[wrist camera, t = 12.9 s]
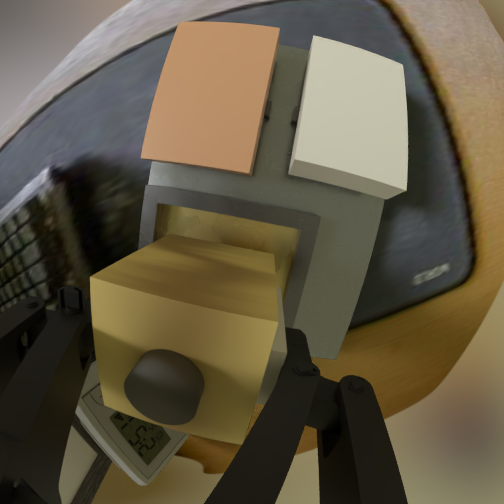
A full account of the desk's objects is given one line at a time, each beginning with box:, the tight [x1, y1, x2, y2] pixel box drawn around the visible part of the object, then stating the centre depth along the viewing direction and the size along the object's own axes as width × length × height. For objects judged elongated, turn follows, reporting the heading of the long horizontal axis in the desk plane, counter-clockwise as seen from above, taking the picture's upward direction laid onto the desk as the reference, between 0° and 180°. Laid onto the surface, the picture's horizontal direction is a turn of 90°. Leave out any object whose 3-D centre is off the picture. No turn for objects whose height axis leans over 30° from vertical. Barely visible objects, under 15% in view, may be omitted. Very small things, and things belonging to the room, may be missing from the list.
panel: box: [138, 45, 385, 360], centre depth 18 cm, size 16×22×4 cm
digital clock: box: [75, 360, 189, 486], centre depth 20 cm, size 14×8×9 cm, turn 3°
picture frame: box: [59, 413, 112, 504], centre depth 17 cm, size 16×2×21 cm, turn 19°
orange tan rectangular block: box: [141, 22, 280, 176], centre depth 14 cm, size 6×9×2 cm, turn 169°
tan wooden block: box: [90, 234, 279, 445], centre depth 12 cm, size 6×6×9 cm
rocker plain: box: [288, 36, 408, 200], centre depth 14 cm, size 6×9×2 cm, turn 169°
